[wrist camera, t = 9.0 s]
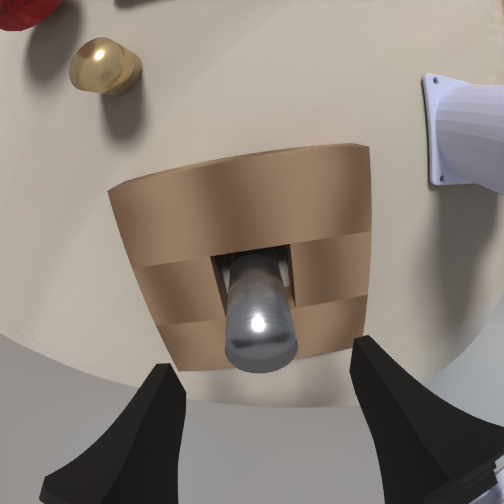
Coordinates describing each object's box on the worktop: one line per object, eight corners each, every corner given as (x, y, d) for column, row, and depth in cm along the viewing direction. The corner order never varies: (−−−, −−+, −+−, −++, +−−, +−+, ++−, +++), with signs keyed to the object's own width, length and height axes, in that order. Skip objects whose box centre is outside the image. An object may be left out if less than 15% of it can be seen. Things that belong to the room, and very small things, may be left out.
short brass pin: (139, 45, 11) (116, 28, 8) (144, 86, 13) (120, 77, 10) (97, 62, 12) (68, 52, 8) (102, 102, 13) (71, 99, 10)
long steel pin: (274, 237, 17) (297, 319, 10) (278, 277, 18) (298, 368, 11) (227, 242, 17) (218, 327, 10) (234, 282, 18) (231, 375, 11)
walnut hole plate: (351, 143, 15) (369, 146, 12) (351, 324, 21) (361, 345, 18) (124, 181, 15) (107, 190, 13) (183, 349, 21) (178, 371, 19)
